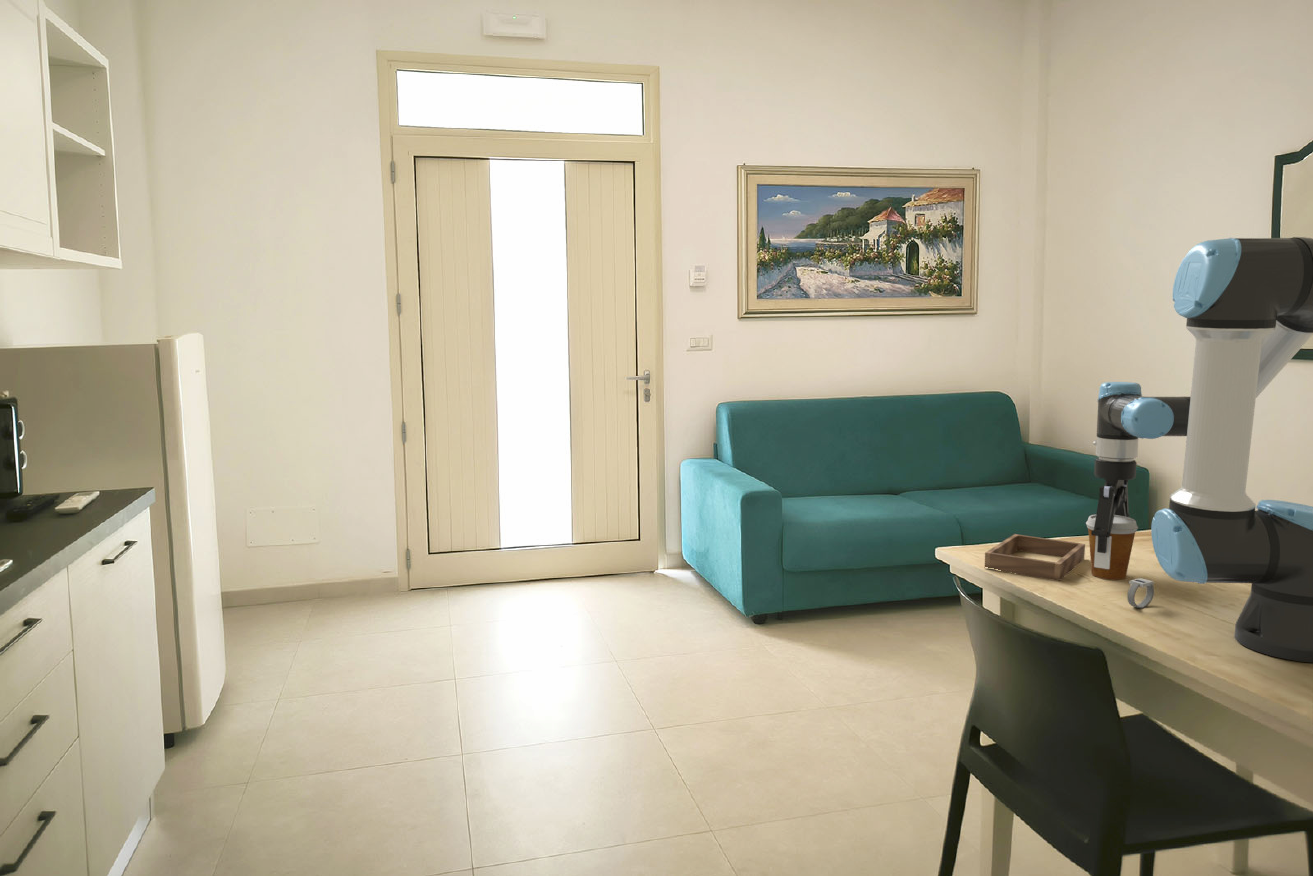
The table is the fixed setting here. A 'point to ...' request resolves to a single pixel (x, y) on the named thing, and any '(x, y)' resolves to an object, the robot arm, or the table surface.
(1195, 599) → the table surface
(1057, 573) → the rectangular wooden frame
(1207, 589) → the table surface
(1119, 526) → the disposable coffee cup
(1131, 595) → the wristwatch
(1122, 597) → the table surface
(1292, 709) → the table surface
